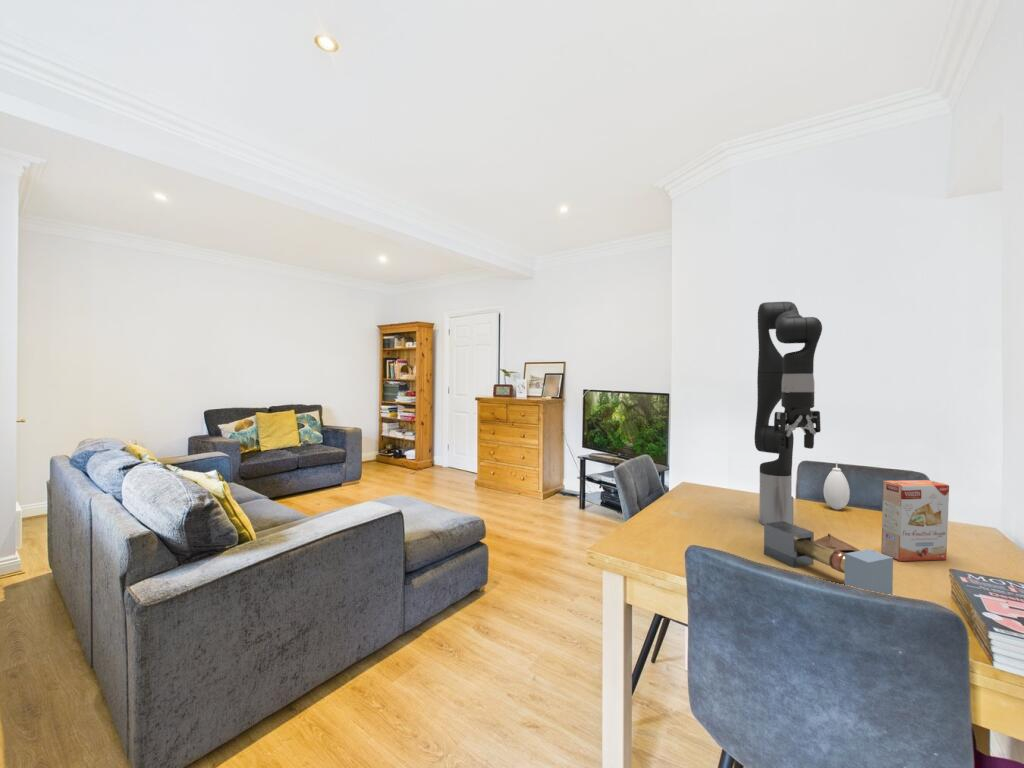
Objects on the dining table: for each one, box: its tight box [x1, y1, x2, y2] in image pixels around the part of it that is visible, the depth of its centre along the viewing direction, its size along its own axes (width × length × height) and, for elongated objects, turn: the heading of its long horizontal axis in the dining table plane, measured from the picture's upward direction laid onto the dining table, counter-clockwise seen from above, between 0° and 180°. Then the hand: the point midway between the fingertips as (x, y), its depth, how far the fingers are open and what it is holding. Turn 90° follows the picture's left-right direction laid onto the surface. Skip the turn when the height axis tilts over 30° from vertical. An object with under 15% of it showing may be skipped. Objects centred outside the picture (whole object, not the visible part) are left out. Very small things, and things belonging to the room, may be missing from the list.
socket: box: [844, 548, 894, 595], centre depth 98 cm, size 8×5×9 cm, turn 108°
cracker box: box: [880, 479, 950, 562], centre depth 118 cm, size 14×6×21 cm, turn 94°
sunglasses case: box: [814, 533, 861, 553], centre depth 118 cm, size 18×7×7 cm, turn 1°
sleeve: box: [763, 521, 815, 568], centre depth 117 cm, size 7×9×9 cm
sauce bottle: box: [823, 461, 851, 511], centre depth 160 cm, size 8×8×18 cm
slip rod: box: [797, 538, 845, 574], centre depth 106 cm, size 5×19×5 cm, turn 18°
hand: (797, 449), depth 117 cm, fingers open, 8 cm apart
